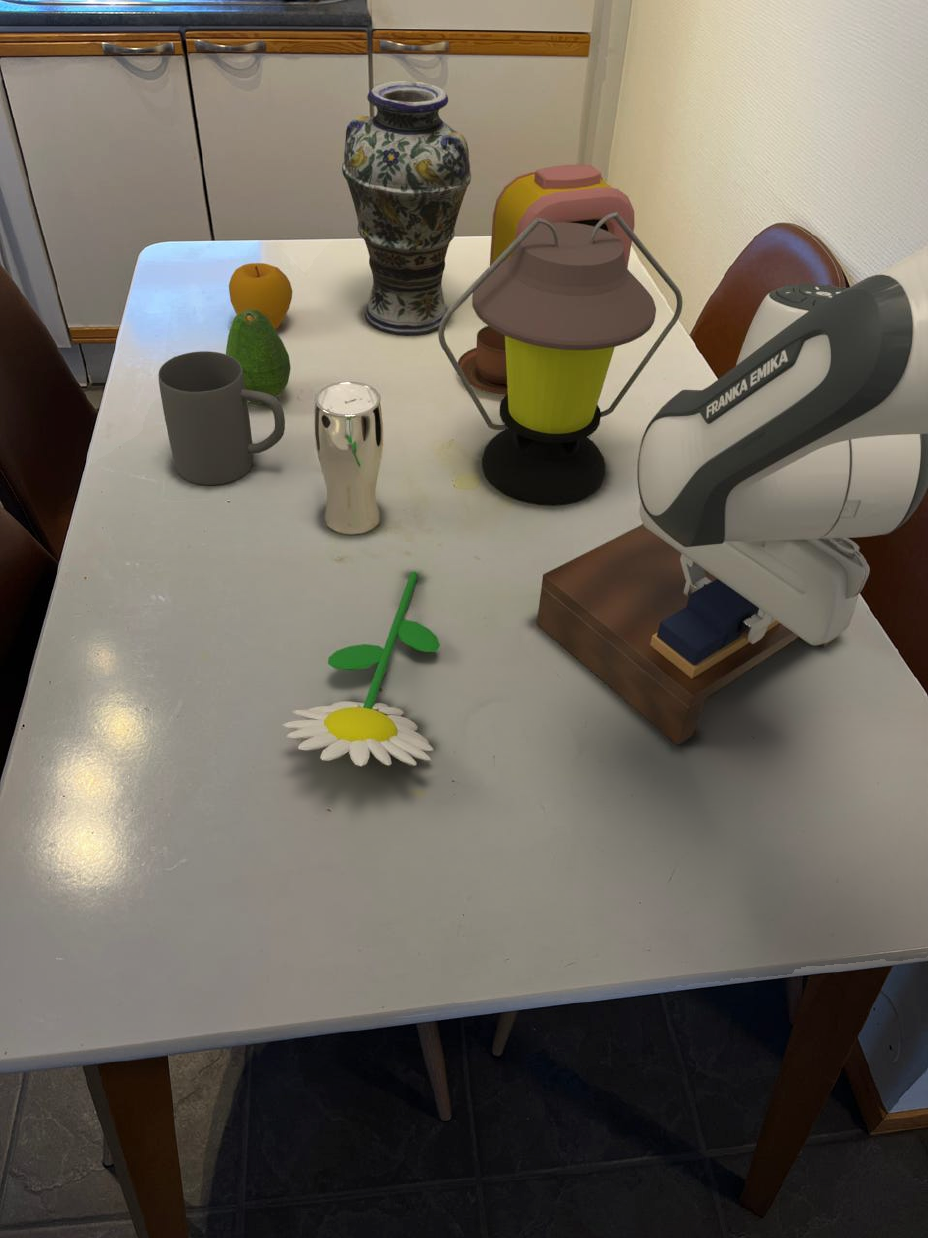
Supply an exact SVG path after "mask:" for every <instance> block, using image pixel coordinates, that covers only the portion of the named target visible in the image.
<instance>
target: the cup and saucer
mask: <svg viewBox="0 0 928 1238" xmlns="http://www.w3.org/2000/svg"><path fill="white" fill-rule="evenodd" d="M457 362H458V364H459V366H460V368H461V369H462V371H463V373H464V375H465V376H466V378H467V380H468V382H469V383H470V385H471V387H472V388H475V389H478V390H479V391H482V392H486V393H491V394H494V395H495V394H497V395H506V394H508V388H507V368H506V347H505V335H503V334H501V333H499V332H497V331H495V330H494V329H492V328H491V327H489V326H488V325H486V326H484V327H482V328H481V329H479V330H478V332H477V333H476V347H473V348H471V349H469V350H467V351H466V352H464V353H463V354H462V355H460V357H459V358H458V361H457Z"/></svg>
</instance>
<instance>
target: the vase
mask: <svg viewBox="0 0 928 1238" xmlns="http://www.w3.org/2000/svg"><path fill="white" fill-rule="evenodd" d="M366 98H367V102H368V103H369V104H371V106H373V107H376V111H377V112H376V115H374V116H368V115H367V116H366V115H358V116H356V117H354V118H353V119H351V121H350V122H349V123H348V124H347V126H346V130H345V142H344V152H343V162H342V165H341V172H342V175H343V177H344V179H345V180H346V183H347V186H348V189H349V193H350V196H351V199H352V203H353V205H354V210H355V214H356V220H357V222H358V223H357V231H358V232H357V233H358V234H359V236H360V237H361V238H362V239H363V240H364V243H365V246H366V248H367V252H368V256H369V259H368V262H369V263H368V264H369V268H370V271H371V273H372V279H373V280H372V288H371V292H370V295H369V299H368V303H367V306H366V309H365V312H364V319H365V321H366V323H367V324H368V325H369V326H370V327H372V328H373V329H376V330H378V331H381V332H383V333H386V334H389V335H390V334H391V335H397V336H408V337H409V336H423V335H427V334H431V333H434V332H437V331H439V326H440V323H441V320H442V318H443V316H444V314H445V313H446V312H447V308H446V302H445V298H444V292H443V285H442V282H443V277H444V276H443V275H444V271H445V268H446V257H447V252H448V249H449V246H450V243H451V242H452V241H453V239H454V237H455V234H456V230H455V228H456V224H457V220H458V217H459V213H460V210H461V207H462V204H463V201H464V197H465V195H466V193H467V190H468V187H469V185H470V183H471V181H472V171H471V163H470V152H469V151H470V150H469V146H468V141H467V140H466V138H465V136H464V135H463V134H462V133H461V132H460V131H456V129H455V130H454V129H453V128H452V127H450V125H448V124H447V123H446V122H445V121H444V120H442V119H441V117H440V115H439V112H440V110H441V109H443V108H444V107H446V106H447V105H448V103H449V96H448V95H447V93H446V91H445V90H444V89H442V88H441V87H439V86H436V85H434V84H431V83H427V82H422V81H413V80H395V81H394V80H393V81H386V82H382V83H378V84H376V85H375V86H373V87H372V88H371V89H370V90H369V92H368V93H367V97H366Z"/></svg>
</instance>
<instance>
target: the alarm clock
mask: <svg viewBox="0 0 928 1238" xmlns="http://www.w3.org/2000/svg"><path fill="white" fill-rule="evenodd" d="M615 212H617V213H618V214H619V215H620V216H621V218H622V219H623V220H624V221H625V223H626V224H627V225H628V226H629V227H630V229H631V230H632V231H633V232H634V231H635V209H634V208H633V205H632V202H631V200H630V198H629V196H628V195H626V194H625V193H624V192H623V191H621V190H620V189H619V188H616V187H615V188H614V187H612V186H611V185H610V184H609V183H607V182H606V181H604V179H603V177H602V173H601V171H600V170H599V169H597V168H596V167H595V166H593V165H592V164H561V165H554V166H548V167H543V168H539V169H536V170H535V171H530V172H527V173H524V174H520V175H518V176H516V177H515V178H513V179H512V180H511V181H510V182H509V183H507V184H506V185H504V187H503V189H502V190H501V192H500V193H499V195H498V196H497V198H496V200H495V205H494V208H493V212H492V225H491V237H490V238H491V239H490V253H489V267H490V266H491V264H492V263H493V262H494V261H495V260H496V259H497V258H498V257H499V256H500V255H501V254H502V253H503V252H504V251H505V250H506V249H507V248H508V247H509V246H510V245H511V244H512V243H513V242H514V241H515V239H516V238H517V237H518V236H519V235H520V234H521V233H522V232H523V231H524V230H525V229H526V228H527V227H528V226H529V225H530V224H531V223H532V222H533V221H534V220H535V219H536V218H541V219H544V220H546V221H548V222H549V223H556V222H567V223H578V224H584V225H589V226H593V227H595V226H596V225H597V223H598V222H599V221H600V220H601V219H603V218H604V217H605V216H607V215H609V214H611V213H615ZM540 224H543V223H539V224H538V225H540ZM600 229H603V230H605V231H608V232H610V233H611V234H613V235H615V236H616V237H617V238H618V239H620V241H621V242H622V243H623V246H624V253H625V260H626V266H627V269H628V268H629V261H630V255H631V250H632V243H633V241H632V240H631V239H630V237H629V236H628V235H627V234H626V232H625V231H624V230H623V229H622V227H621V226H620V225H619V224H618V223H617V221H616V220H615V219H614V218H611V219H609V220H607V221H606V222H605V223H603V224H602V226H601V227H600ZM634 233H635V232H634ZM513 251H514V250H513ZM513 251H512V252H511V254H510V255H509V256H508V257H507V258H506V259H505V260H504V261H506V260H507V259H508V258H510V257H511V255H512V254H513ZM504 261H503V262H504ZM503 262H502V263H503ZM502 263H501V264H502Z"/></svg>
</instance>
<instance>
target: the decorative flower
mask: <svg viewBox="0 0 928 1238" xmlns="http://www.w3.org/2000/svg"><path fill="white" fill-rule="evenodd" d="M418 577H419V574H418V572H417V571H411V572H410V574H409V577H408V579H407V582H406V584H405V585H406V586H405V588H404V591H403V594H402V596H401V600H400V602H399V604H398V608H397V610H396V613H395V616H394V619H393V621H392V624H391V627H390V631H389V632H388V636H387V639H386V641H385V644H384V647H382V646H381V645H376V644H366V643H364V644H355V645H350V646H347V647H344V648H341V649H338V650H336V651H334V652H333V653H332V654H331V655H330V656H329V657H328V660H327V665H328V666H330V667H331V668H333V669H335V670H341V671H358V670H363V669H364V670H365V669H367V668H370V667H373V666H376V665H377V667H376V669H375V672H374V675H373V678H372V681H371V684H370V687H369V689H368V692H367V695H366V698H365V701H364V702H358V701H357V702H355V701H350V700H347V701H338V702H333V703H332V704H331V705H318V706H314V707H310V708H309V709H296V710H293V711H292V712H293V714H295V715H297V716H299V717H301V718H303V719H298V720H292V721H287V722H286V723H285V722H284V724H282V726H283V727H285V728H286V729H292V730H293V731H291V732H289V733H288V734H287V736H286V738H290V739H294V740H295V739H296V740H303V741H302V742H301V743H300V744H299V745H298V746H297V748H298V750H301V751H316V750H320V749H323V748H324V749H323V750H322V752H321V754H320V757H319V758H320V759H321V760H322V761H328V762H330V761H333V760H336V759H339V758H341V757H343V756H344V755H346V754H347V753H349V757H350V760H351V761H352V763H353V764H354V765H355V766H359V767H363V766H366V765H367V764H368V762H369V760H370V756H371V754H372V756H374V758H376V760H378V761H379V762H380V763H381V764H382V765H385V766H390V765H392V758H391V756H392V757H393V758H395V759H397V760H398V761H400V762H402V763H403V764H404V763H405V764H406V765H409V766H417V761H416V760H415V759H414V758H416V759H419V760H421V761H424V762H432V759H431V756H429V755H428V754H427V753H426V752H429V753H430V752H433V751H435V749H434V748H433V747H432V745H431V744H430V743H429V741H428V740H427V739H426V737H424V736H423V735H422V734H420V733H419V732H417V731H418V726H417V724H416V723H415V722H414V721H412V720H410V719H409V718H407V717H404V714H405V712H404V711H403V710H402V709H401V708H398V707H395V706H389V705H388V704H386V703H382V702H377V703H376V699H377V696H378V693H379V691H380V688H381V685H382V682H383V680H384V676H385V673H386V670H387V667H388V665H389V661H390V659H391V655H392V653H393V650H394V647H395V645H396V641H397V638H398V639H399V640H400V641H401V642H402V643H404V644H405V645H407V646H409V647H410V648H412V649H414V650H416V651H420V652H425V653H435V652H438V650H439V648H440V647H441V643H440V641H439V639H438V636H437V635H436V634H435V633H434V632H433V631H432V630H431V629H430V628H428V627H426V626H425V625H423V624H421V623H419V622H418V621H413V620H408V619H404V618H405V615H406V612H407V609H408V607H409V604H410V602H411V601H410V600H411V598H412V594H413V591H414V589H415V586H416V583H417V580H418ZM304 739H305V740H304Z"/></svg>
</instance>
